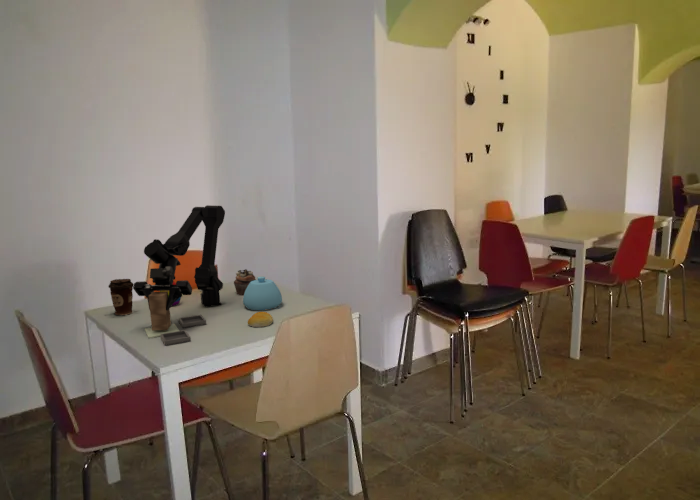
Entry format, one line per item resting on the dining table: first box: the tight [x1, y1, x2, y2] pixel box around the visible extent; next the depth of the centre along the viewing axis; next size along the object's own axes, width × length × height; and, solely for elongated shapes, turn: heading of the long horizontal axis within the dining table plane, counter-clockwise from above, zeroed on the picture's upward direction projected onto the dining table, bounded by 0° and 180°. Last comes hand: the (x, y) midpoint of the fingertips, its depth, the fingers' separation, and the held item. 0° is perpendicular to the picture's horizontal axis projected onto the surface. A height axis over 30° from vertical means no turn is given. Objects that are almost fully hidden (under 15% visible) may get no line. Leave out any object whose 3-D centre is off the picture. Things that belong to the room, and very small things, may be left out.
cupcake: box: [233, 268, 257, 296], centre depth 238 cm, size 10×10×10 cm
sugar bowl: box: [242, 276, 283, 311], centre depth 218 cm, size 15×15×12 cm
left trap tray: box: [160, 329, 192, 347], centre depth 182 cm, size 8×8×2 cm
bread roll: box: [247, 311, 274, 328], centre depth 196 cm, size 8×9×4 cm
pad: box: [144, 323, 180, 339], centre depth 191 cm, size 10×10×1 cm
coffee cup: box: [107, 278, 134, 316], centre depth 213 cm, size 9×8×13 cm
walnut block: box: [148, 291, 172, 331], centre depth 190 cm, size 5×5×12 cm
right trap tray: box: [177, 314, 207, 329], centre depth 199 cm, size 8×8×2 cm
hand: (158, 310), depth 188 cm, fingers open, 5 cm apart
